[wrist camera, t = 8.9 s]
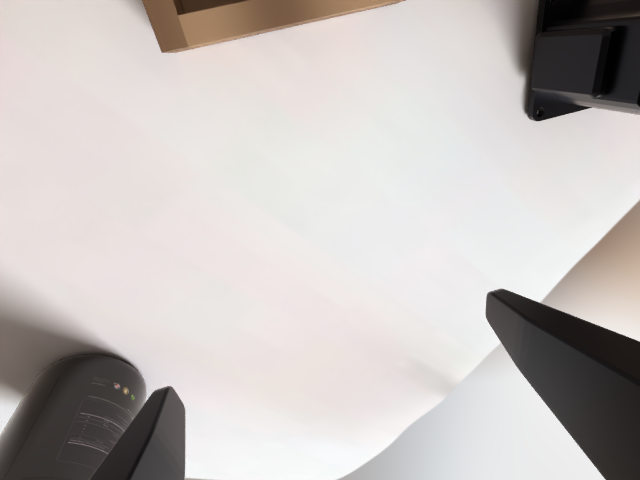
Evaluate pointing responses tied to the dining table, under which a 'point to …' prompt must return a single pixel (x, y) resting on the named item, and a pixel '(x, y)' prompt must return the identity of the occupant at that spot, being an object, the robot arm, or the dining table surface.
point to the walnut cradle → (238, 18)
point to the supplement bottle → (70, 419)
